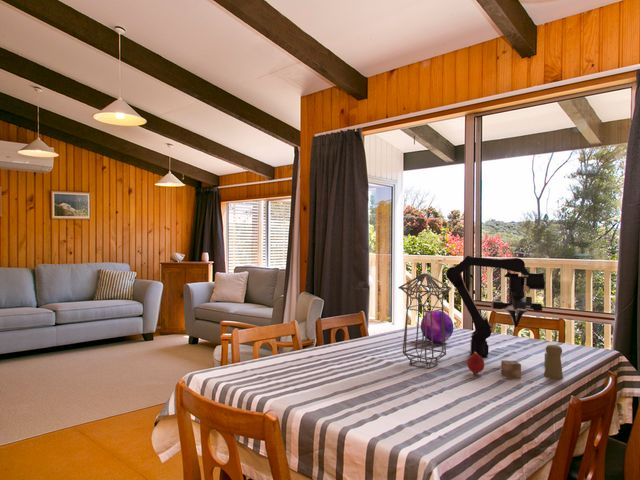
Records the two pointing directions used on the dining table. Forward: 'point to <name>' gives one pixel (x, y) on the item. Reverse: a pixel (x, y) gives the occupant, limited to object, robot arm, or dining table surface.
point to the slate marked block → (545, 357)
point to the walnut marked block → (511, 369)
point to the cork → (553, 362)
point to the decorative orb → (438, 326)
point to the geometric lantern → (425, 317)
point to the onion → (475, 363)
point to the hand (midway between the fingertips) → (515, 327)
